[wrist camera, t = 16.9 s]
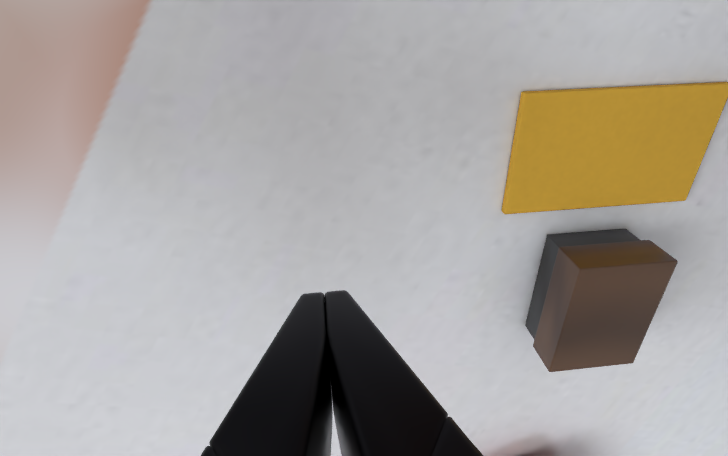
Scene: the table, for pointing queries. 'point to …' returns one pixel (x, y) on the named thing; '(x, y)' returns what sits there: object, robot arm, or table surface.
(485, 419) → the table surface
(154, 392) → the table surface
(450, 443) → the robot arm
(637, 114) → the cloth
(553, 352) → the brown rectangular block
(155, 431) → the table surface
